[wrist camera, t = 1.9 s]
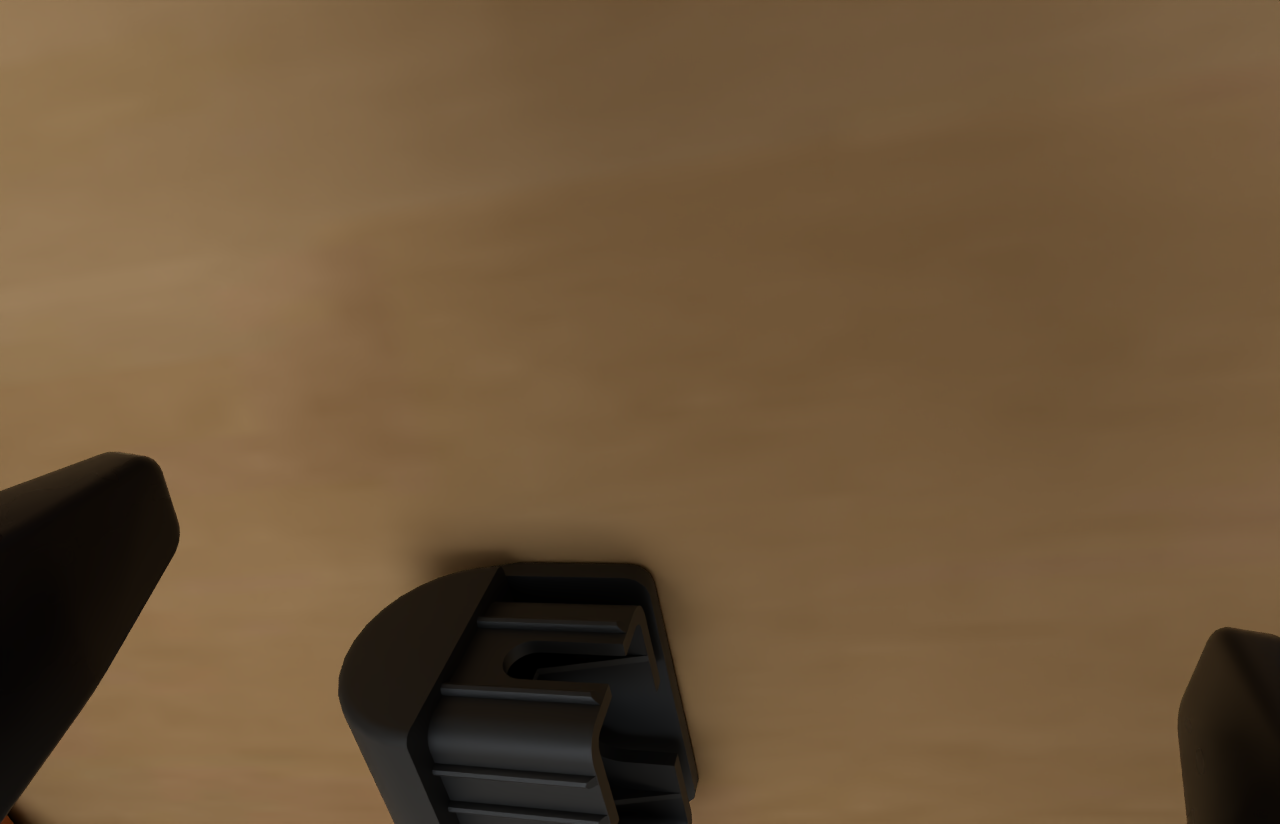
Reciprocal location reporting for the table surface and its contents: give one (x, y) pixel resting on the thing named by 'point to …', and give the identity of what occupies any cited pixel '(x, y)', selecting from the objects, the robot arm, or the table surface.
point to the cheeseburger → (7, 820)
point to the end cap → (522, 700)
